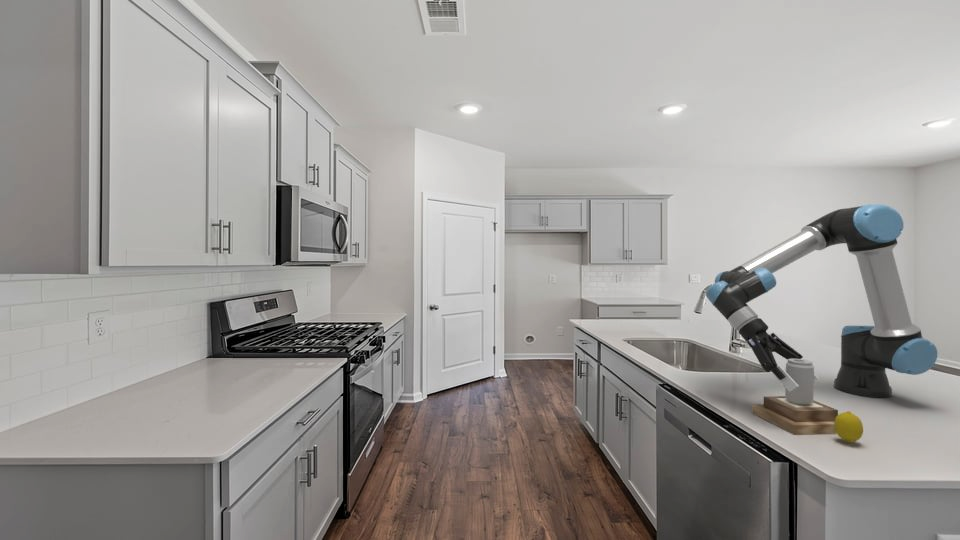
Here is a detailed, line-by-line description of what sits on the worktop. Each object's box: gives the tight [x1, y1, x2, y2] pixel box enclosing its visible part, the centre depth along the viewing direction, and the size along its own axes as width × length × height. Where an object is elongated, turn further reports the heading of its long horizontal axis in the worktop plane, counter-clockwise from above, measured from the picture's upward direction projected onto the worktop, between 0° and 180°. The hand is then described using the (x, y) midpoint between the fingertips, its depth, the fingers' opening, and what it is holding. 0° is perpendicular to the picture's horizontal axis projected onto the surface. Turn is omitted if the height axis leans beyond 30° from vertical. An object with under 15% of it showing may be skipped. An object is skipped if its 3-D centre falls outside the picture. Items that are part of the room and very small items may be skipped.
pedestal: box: [751, 395, 839, 435], centre depth 122 cm, size 16×16×6 cm
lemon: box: [834, 411, 864, 444], centre depth 108 cm, size 6×6×8 cm
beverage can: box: [784, 358, 815, 406], centre depth 121 cm, size 6×6×12 cm
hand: (804, 384), depth 120 cm, fingers open, 13 cm apart
